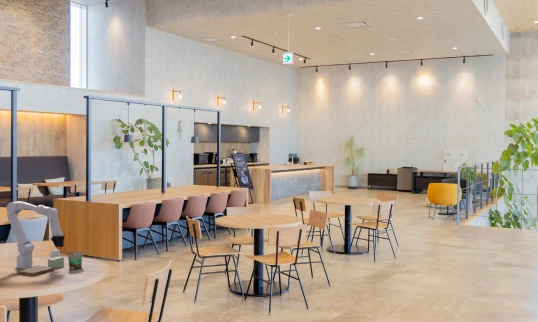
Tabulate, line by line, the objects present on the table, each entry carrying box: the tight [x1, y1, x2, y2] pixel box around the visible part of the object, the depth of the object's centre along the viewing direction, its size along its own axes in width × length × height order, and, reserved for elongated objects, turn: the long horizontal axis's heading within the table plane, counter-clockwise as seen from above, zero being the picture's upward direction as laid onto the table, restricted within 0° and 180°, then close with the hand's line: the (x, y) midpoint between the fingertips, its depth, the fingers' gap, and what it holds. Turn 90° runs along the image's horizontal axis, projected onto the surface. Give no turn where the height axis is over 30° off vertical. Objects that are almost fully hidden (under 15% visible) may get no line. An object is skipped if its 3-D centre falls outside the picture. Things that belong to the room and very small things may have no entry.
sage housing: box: [47, 256, 65, 270], centre depth 347 cm, size 5×10×6 cm, turn 154°
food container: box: [67, 251, 84, 271], centre depth 343 cm, size 12×6×10 cm, turn 168°
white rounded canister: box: [49, 249, 61, 259], centre depth 362 cm, size 6×6×8 cm
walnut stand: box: [16, 265, 55, 277], centre depth 333 cm, size 14×16×2 cm
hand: (59, 247), depth 344 cm, fingers open, 7 cm apart
